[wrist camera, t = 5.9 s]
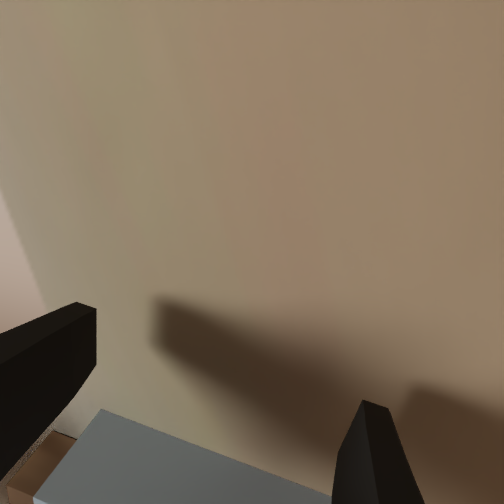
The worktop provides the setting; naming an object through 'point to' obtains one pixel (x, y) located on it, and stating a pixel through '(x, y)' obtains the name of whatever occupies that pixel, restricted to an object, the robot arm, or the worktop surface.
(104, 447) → the t block
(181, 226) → the worktop surface
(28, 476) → the walnut cradle
